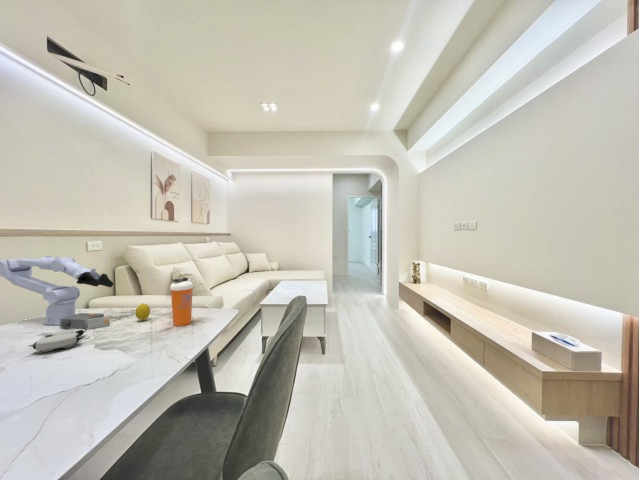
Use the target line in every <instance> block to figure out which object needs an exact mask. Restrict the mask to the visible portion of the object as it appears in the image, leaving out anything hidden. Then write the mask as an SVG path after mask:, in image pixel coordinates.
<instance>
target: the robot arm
mask: <svg viewBox="0 0 640 480" xmlns="http://www.w3.org/2000/svg"><path fill="white" fill-rule="evenodd" d="M33 267H38V269H41V270H43V271H44V270H48V271H49V270H50V271H52V272H55V273H56V272H60V273H64V274H66V275H67V276H70V277H71V278H73V279H75V280H77V281H76V284H77V285H88V286H92V287H99V286H104V287H107V288H112V287H113V285H114V283H115V282H114V281H112V280H111V279H110V278H109V277H108V274H107V273H101V274H99V273H98V272H96V270H97V269H96V268H91V269H89V268H87V266H86V267H85V266H83V265H81V264H79V263H77V262H76V260H75V259H74V258H72V257H70V256H69V257H61V256H54V257H52V256H51V255H46V256H45V255H44V257H41V258H31V257H23V258H12V259H0V277H3V278H5V279H6V280H8V282H10V283H11V284H12V285H13V286H17V287H18V288H22V289H25V290H29V291H31V292H34V293H37V294H40V295H42V296H43V297H42V298H43V299H42V300H45V301H47V302H48V303H49V305H47V307H46V309H45V317H46V318H45V319H46V320H45V321H46V322H45V323H44V324H43V325H51V326H60V319H62V318H65V317H69V316H72V315H76V302H77V301H78V299H79V297H80V296H81V291H80V289H79V287H77V286H74V285H73V286H72V285H71V286H68V285H57V284H54V283H51V282H49V281H45V280H43V279H40V278H36V277H33Z"/></svg>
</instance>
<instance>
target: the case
mask: <svg viewBox="0 0 640 480" xmlns="http://www.w3.org/2000/svg"><path fill="white" fill-rule="evenodd" d="M101 317H105V316H104V313H95V312H93V313H91V312H90V313H87V312H86V313H85V312H83V313H82V312H80V313H75V315H72V316H69V317H65V318H62V319H60V325H59V328H60V329H67V330H86V329H85V320H86V319H94V318H101Z"/></svg>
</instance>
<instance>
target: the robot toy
mask: <svg viewBox="0 0 640 480" xmlns="http://www.w3.org/2000/svg"><path fill="white" fill-rule="evenodd" d="M84 333H87V329H78V330H76V331H74V330H73V329H66V330H61V331H56V332H55V333H54V334H53V335H52V334H49V335H45V336H44V337H43V338H40V339H38V340H37V341H36V342H34V343H33V344H28V345H27V346H28V347H32V348H33V350H36V351H39V352H40V351H41V352H44V353H49V352H51V351H53V350H54V349H55V350H56V349H60V348H62V349H68V348H71V347H73V346H74V345H75V344H76V343H78V342H80V341H81V339H82V338H83V335H84Z"/></svg>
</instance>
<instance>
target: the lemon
mask: <svg viewBox="0 0 640 480" xmlns="http://www.w3.org/2000/svg"><path fill="white" fill-rule="evenodd" d="M150 308H151V307H150V306H149V305H148V304H145V303H140V304H139V305H138V306H136V309H135V317H136V318H137V319H138V320H141V321H142V322H143V321H145V320H146V319H148V317H149V316H150V315H151V309H150Z"/></svg>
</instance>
